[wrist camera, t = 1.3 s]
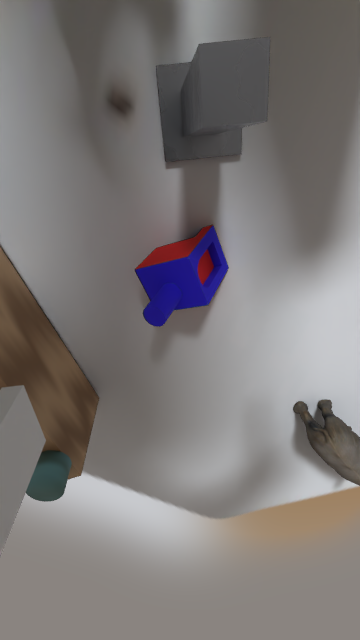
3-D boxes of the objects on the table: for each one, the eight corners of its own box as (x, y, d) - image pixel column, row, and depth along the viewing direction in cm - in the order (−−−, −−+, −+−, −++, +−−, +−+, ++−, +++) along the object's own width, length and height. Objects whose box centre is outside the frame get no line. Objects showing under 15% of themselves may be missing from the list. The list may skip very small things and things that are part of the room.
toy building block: (165, 238, 25) (112, 291, 19) (213, 224, 23) (170, 279, 17) (182, 277, 27) (138, 336, 21) (229, 267, 25) (194, 331, 19)
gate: (-52, 222, 22) (-196, 272, 13) (-21, 209, 21) (-147, 251, 13) (77, 405, 30) (44, 511, 21) (101, 397, 30) (77, 502, 21)
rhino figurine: (345, 469, 38) (375, 521, 33) (285, 407, 33) (309, 457, 27) (376, 453, 37) (413, 503, 32) (319, 386, 32) (352, 433, 26)
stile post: (156, 67, 19) (155, -6, 10) (240, 58, 19) (312, -21, 10) (165, 161, 21) (171, 169, 12) (240, 154, 21) (299, 157, 12)
